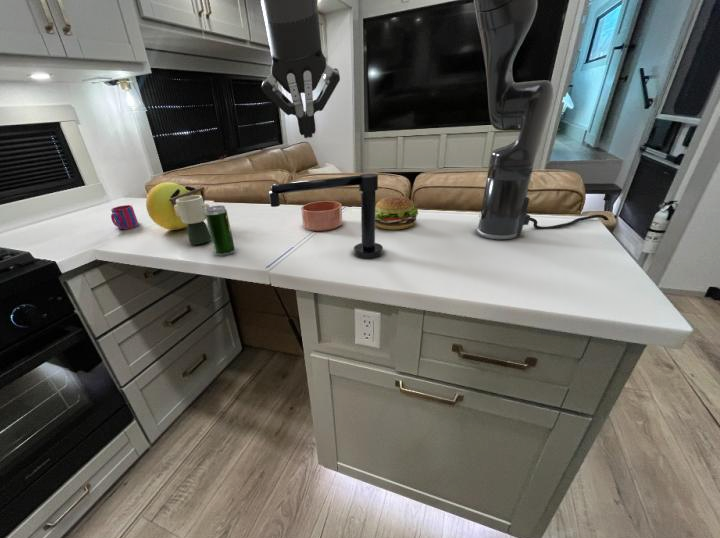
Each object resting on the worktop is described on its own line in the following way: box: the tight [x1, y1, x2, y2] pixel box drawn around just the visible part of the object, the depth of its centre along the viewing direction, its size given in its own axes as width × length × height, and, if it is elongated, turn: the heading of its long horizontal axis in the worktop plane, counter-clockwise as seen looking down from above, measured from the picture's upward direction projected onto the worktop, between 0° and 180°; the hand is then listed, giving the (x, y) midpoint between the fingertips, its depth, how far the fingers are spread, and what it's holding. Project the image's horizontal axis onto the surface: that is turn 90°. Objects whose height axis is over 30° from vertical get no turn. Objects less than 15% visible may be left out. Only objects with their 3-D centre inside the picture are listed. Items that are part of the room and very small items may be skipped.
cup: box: [110, 204, 140, 230], centre depth 116 cm, size 7×10×7 cm
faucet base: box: [353, 191, 384, 260], centre depth 77 cm, size 7×7×15 cm
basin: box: [300, 200, 343, 232], centre depth 101 cm, size 12×12×6 cm
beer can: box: [205, 204, 236, 257], centre depth 86 cm, size 5×5×12 cm
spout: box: [268, 173, 379, 208], centre depth 72 cm, size 24×4×4 cm, turn 98°
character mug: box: [174, 195, 212, 245], centre depth 94 cm, size 11×7×13 cm, turn 79°
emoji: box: [145, 181, 206, 231], centre depth 108 cm, size 16×16×15 cm
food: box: [375, 195, 419, 231], centre depth 97 cm, size 14×14×8 cm
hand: (308, 135), depth 59 cm, fingers closed
